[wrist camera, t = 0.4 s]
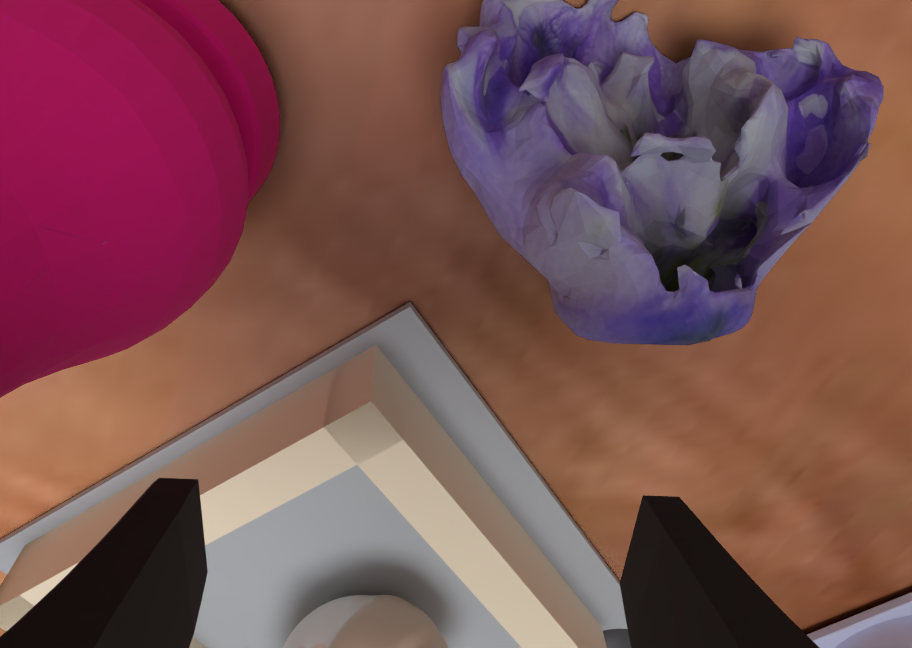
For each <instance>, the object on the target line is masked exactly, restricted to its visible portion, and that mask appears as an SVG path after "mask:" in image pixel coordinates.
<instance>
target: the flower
mask: <svg viewBox="0 0 912 648" xmlns="http://www.w3.org/2000/svg"><path fill="white" fill-rule="evenodd" d="M617 2H618V0H588V2H587V4H585V5H584V6H583V7H582V8H580V9H576V8H574V7H572V6H571V5H569V4H567V3H566V2H564V1H562V0H484V1H483V3H482V5H481V11H480V23H479V26H474V27H469V26H462V27H461V28H460V29H459V30H458V36H457V47H458V48H459V50H460V56H459V60H457V61H456V62H454V63H448V64H447V65H446V66H445V67H444V68H443V72H442V86H441V100H440V102H441V110H442V118H443V124H444V128H445V132H446V137H447V141H448V145H449V149H450V152H451V154H452V157H453V159H454V161H455V163H456V165H457V167H458V169H459V171H460V173H461V175H462V177H463V178H464V179H465V181H466V182H467V183H468V185H469V186H470V187H471V188H472V190H473V191H474V192H475V194H476V196H477V198H478V199H479V201H480V203H481V205H482V206H483V208H484V210H485V212H486V214H487V215H488V217H489V219H490V220H491V222H492V224H493V225H494V227H495V228H496V230H497V232H498V233H499V235H500V236H501V237H502V238H503V239H504V240H505V241H506V242H507V243H508V244H509V245H510V246H511V247H513V248H514V249H515V250H516V251H517V252H518V253H519V254H520V255H521V256H522V257H523V258H525V259H526V260H527V261H528V262H529V263H530V264H531V265H532V266H533V267H534V268H535V269H536V270H538V271H539V272H540V273H541V274H542V275H543V276H544V277H545V278H546V279H547V280H548V283H549V287H550V290H551V296H552V301H553V307H554V311H555V313H556V314H557V315H558V316H559V318H560V319H561V320H562V321H563V322H564V323H565V324H566V325H567V326H568V327H569V328H570V329H571V330H572V331H573V332H574V333H575V334H576V335H577V336H580V337H583V338H585V339H588V340H592V341H600V342H607V343H621V344H660V345H692V344H696V343H701V342H705V341H710V340H711V339H713V338H716V337H720V336H723V335H727V334H730V333H733V332H736V331H737V330H739V329H741V328H742V327H744V326H745V325H746V324H747V323H748V321H749V320H750V318H751V315H752V312H753V307H754V301H755V295H756V290H757V288H758V286H759V284H760V282H761V281H762V280H763V279H764V277H765V276H766V275H767V274H768V272H769V271H770V270H771V268H772V267H773V266H774V265H775V264H776V262H777V261H778V260H779V259H780V258H781V256H782V255H783V254H784V253H785V252H786V251H787V249H788V248H789V247H790V246H791V245H792V243H793V242H794V241H795V240H796V239H797V238H798V237H799V236H800V235H801V234H802V233H803V232H804V231H805V230H806V229H807V228H808V226H809V225H810V224H811V223H812V222H813V221H814V220H815V218H816V217H817V216H818V215H819V214H820V212H821V211H822V210H823V209H824V207H825V206H826V205H827V204H828V203H829V201H830V200H831V199H832V198H833V196H834V195H835V194H836V193H837V191H838V190H839V189H840V188H841V187H842V185H843V184H844V183H845V182H846V180H847V179H848V178H849V177H850V175H851V174H852V172H853V171H854V170H855V168H856V167H857V165H858V164H859V163H860V161H861V160H863V159H864V158H865V157H867V154H868V151H869V148H870V144H871V143H869V144H868V140H869V137H870V135H871V133H872V131H873V128H874V125H875V121H876V118H877V114H878V108H879V106H880V104H881V102H882V100H883V85H882V83H881V81H880V79H879V77H878V76H875V75H873V74H871V73H869V72H866V71H855V70H853V69H850V68H848V67H846V66H843V65H842V64H841V62H840V61H839V60H838V59H837V57H836V56H835V54H834V52H833V51H832V49H831V47H830V46H829V44H828V43H826V42H824V41H821V40H817V39H802V38H799V37H797V38H796V39H795V41H794V43H795V44H794V46H793V47H792V48H788V49H774V50H769V51H764V52H756V51H747V50H739V49H737V48H735V47H733V46H729V45H725V44H721V43H717V42H713V41H708V40H702V39H698V40H697V42H696V44H695V47H694V50H693V53H692V56H691V57H689V58H686V59H684V60H682V61H680V62H678V63H675V62H673V61H672V60H670V59H668V58H667V57H665V56H664V55H662V54H661V53H660V52H659V51H658V50H657V49H656V48H655V47H654V45H653V44H652V43H651V41H650V38H649V35H648V32H647V24H648V21H649V19H648V16H647V15H645V14H641V13H638V12H634V13H633V14H632V15H630V16H629V17H627V18H626V19H624V20H623V21H622V22H616V23H614V22H613V21H612V20H611V19H610V18H611V10H612V9H613V7H614V6H615V5H616V3H617Z"/></svg>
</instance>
